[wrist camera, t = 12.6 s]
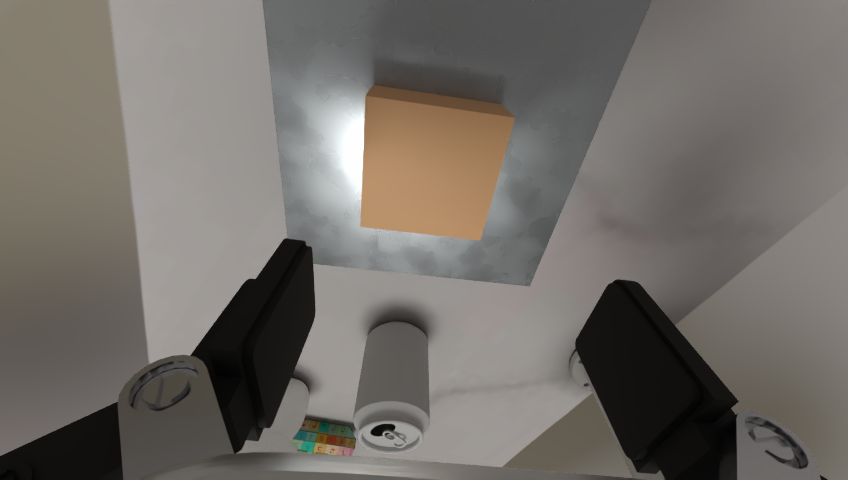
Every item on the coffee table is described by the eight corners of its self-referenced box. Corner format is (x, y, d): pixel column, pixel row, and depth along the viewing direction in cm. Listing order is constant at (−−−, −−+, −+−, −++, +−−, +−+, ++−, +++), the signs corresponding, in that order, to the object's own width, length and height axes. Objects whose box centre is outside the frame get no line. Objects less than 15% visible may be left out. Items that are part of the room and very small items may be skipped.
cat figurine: (317, 406, 49) (284, 537, 37) (228, 396, 47) (162, 532, 35) (322, 370, 44) (286, 508, 32) (223, 358, 42) (144, 499, 30)
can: (395, 306, 37) (386, 410, 28) (440, 337, 40) (447, 440, 30) (354, 337, 40) (333, 441, 30) (399, 364, 43) (393, 466, 33)
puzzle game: (353, 455, 48) (328, 504, 59) (358, 422, 52) (334, 473, 62) (271, 442, 46) (260, 496, 56) (283, 409, 50) (270, 465, 60)
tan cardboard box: (484, 86, 23) (515, 117, 15) (463, 179, 27) (480, 240, 19) (383, 70, 22) (365, 95, 15) (377, 168, 26) (360, 226, 19)
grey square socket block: (581, 6, 22) (651, -1, 15) (506, 230, 32) (529, 286, 25) (308, -44, 20) (254, -76, 14) (318, 208, 30) (290, 261, 24)
